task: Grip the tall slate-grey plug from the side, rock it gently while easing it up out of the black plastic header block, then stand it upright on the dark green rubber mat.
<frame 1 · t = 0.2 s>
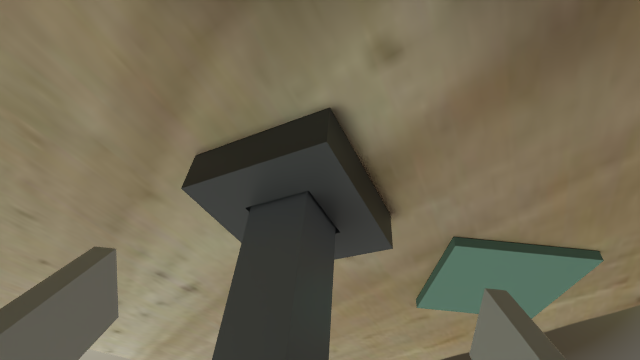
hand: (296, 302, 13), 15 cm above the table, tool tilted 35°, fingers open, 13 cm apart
plug: (284, 284, 26), in the header
mat: (495, 278, 41), on the table
header: (298, 187, 32), on the table
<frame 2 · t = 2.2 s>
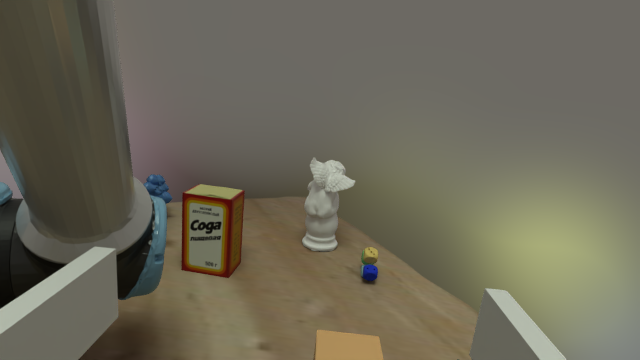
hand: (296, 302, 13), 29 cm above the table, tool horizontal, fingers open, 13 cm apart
baking soda box: (212, 267, 74), on the table
cherub figurine: (324, 248, 88), on the table
dice: (367, 277, 76), on the table
grapes: (159, 219, 94), on the table
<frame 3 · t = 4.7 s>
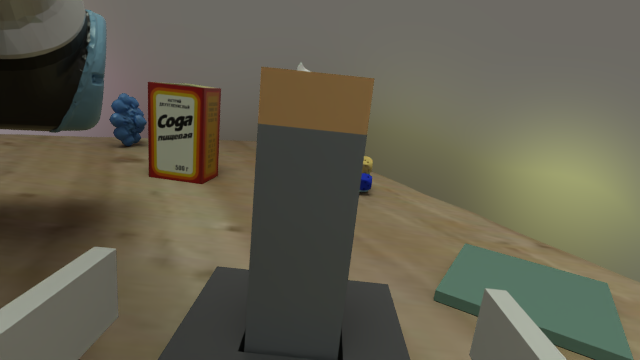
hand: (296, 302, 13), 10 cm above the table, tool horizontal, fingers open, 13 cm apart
baking soda box: (184, 177, 65), on the table
plug: (303, 239, 21), in the header
mat: (525, 295, 36), on the table
dice: (360, 191, 68), on the table
grapes: (132, 147, 86), on the table
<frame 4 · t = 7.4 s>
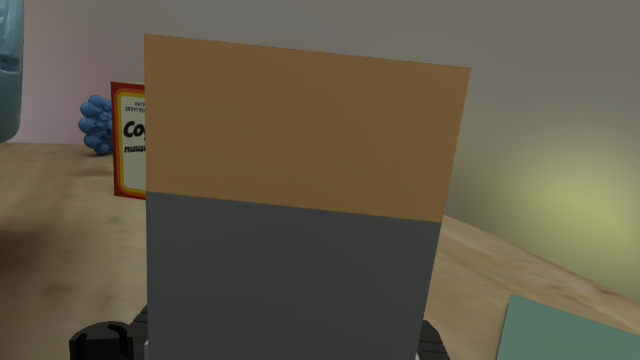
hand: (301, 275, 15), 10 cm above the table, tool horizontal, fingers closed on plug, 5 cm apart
baking soda box: (158, 195, 55), on the table
grapes: (106, 156, 75), on the table
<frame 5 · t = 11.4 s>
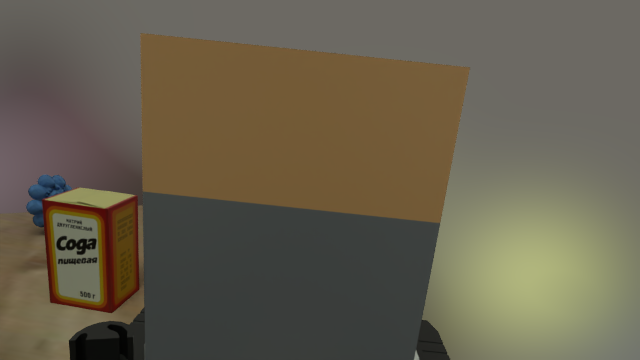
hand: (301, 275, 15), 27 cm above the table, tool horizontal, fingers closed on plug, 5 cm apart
baking soda box: (96, 296, 56), on the table
grapes: (58, 231, 76), on the table
when the fingers open (12 cm above the table, at t = 15.8 s): plug stays where it is, resting on mat.
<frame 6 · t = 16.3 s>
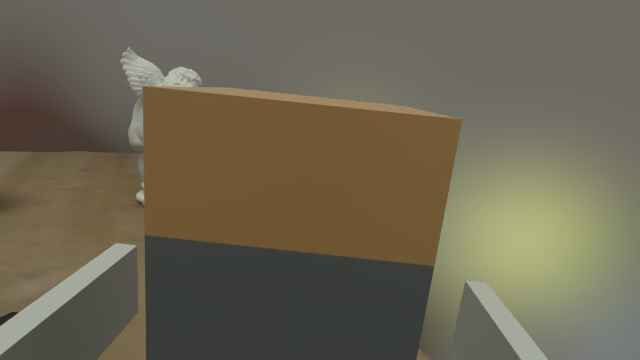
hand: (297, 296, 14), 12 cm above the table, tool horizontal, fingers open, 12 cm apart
cherub figurine: (170, 203, 57), on the table
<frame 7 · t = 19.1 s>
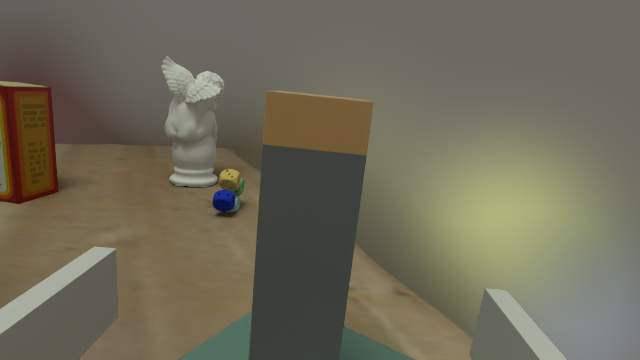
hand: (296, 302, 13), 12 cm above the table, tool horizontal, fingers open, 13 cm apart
baking soda box: (10, 194, 54), on the table
plug: (305, 252, 22), on the mat, point 10 cm above the table
cherub figurine: (197, 185, 68), on the table
dice: (228, 211, 56), on the table
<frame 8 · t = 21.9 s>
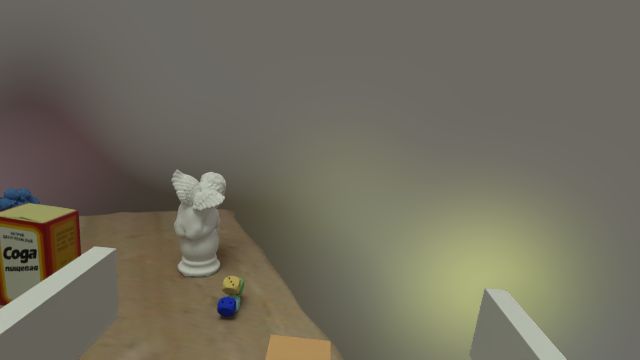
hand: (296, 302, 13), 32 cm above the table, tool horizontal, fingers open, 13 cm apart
baking soda box: (43, 300, 63), on the table
cherub figurine: (202, 272, 77), on the table
dice: (230, 310, 65), on the table
grapes: (24, 239, 84), on the table
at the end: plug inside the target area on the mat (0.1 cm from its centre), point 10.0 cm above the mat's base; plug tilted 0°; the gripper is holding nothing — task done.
